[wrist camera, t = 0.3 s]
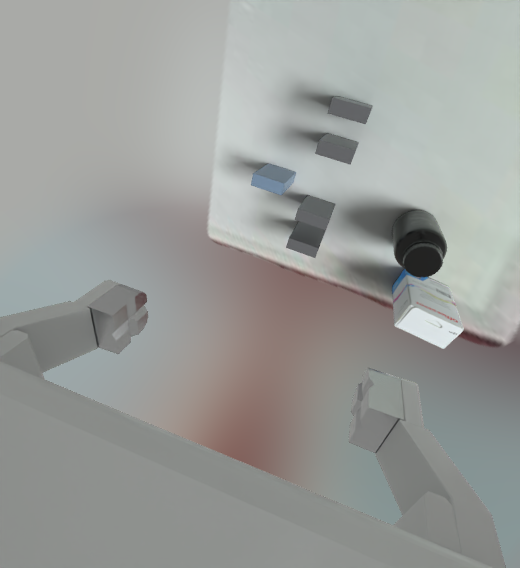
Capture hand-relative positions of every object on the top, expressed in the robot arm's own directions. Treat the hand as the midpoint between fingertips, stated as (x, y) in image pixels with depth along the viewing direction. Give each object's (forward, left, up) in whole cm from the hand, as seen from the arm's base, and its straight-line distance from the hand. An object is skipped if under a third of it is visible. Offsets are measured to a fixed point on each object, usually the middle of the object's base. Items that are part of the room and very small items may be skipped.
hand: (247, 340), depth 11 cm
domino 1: (+7, -9, -46) cm, 48 cm away
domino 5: (0, -1, -46) cm, 46 cm away
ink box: (+18, +20, -46) cm, 54 cm away
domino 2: (+10, -1, -46) cm, 47 cm away
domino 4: (-5, -1, -46) cm, 46 cm away
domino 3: (+15, -1, -46) cm, 49 cm away
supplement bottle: (+9, +15, -46) cm, 49 cm away
